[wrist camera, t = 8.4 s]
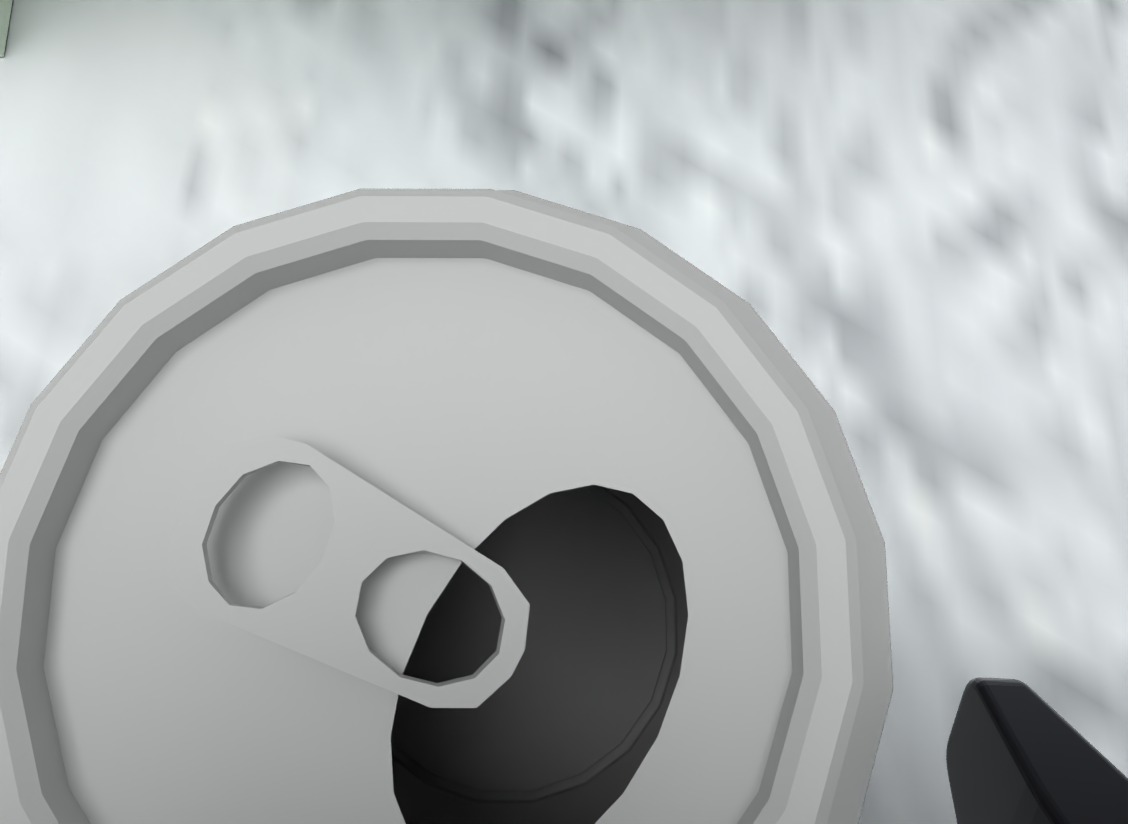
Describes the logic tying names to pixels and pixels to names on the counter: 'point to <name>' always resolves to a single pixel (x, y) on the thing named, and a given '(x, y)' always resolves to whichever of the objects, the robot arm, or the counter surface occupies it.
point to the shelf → (4, 23)
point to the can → (437, 540)
